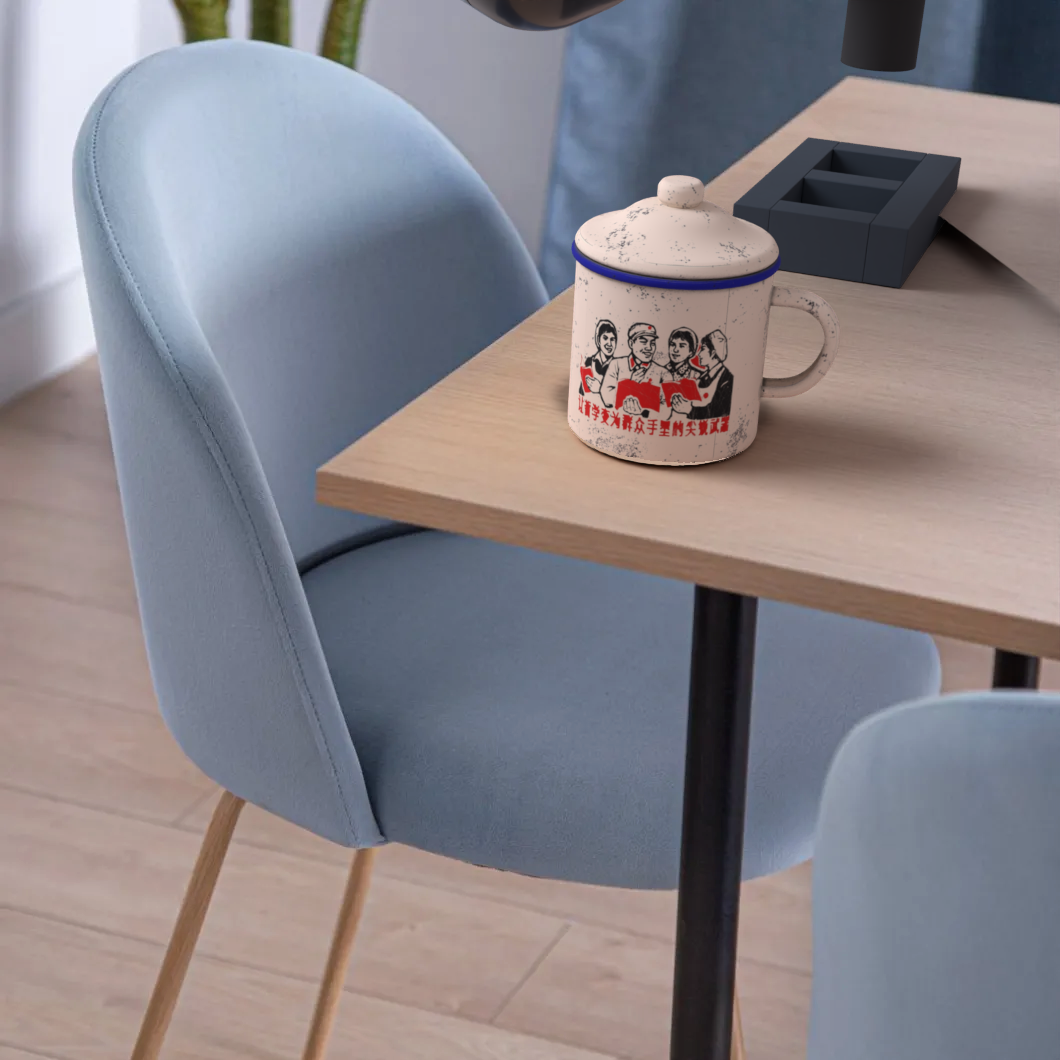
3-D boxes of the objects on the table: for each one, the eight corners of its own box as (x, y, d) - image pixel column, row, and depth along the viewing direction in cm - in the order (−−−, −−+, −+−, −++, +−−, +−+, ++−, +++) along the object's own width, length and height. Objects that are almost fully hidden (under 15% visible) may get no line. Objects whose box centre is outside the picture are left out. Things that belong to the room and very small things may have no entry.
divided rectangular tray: (953, 210, 116) (961, 157, 114) (900, 288, 100) (908, 229, 99) (802, 188, 119) (807, 137, 117) (727, 261, 104) (733, 203, 102)
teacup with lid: (543, 457, 77) (556, 197, 72) (581, 384, 85) (595, 145, 80) (819, 492, 75) (852, 226, 70) (831, 413, 83) (862, 170, 78)
